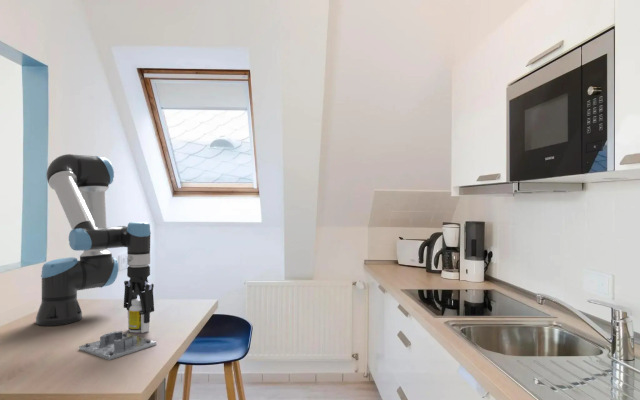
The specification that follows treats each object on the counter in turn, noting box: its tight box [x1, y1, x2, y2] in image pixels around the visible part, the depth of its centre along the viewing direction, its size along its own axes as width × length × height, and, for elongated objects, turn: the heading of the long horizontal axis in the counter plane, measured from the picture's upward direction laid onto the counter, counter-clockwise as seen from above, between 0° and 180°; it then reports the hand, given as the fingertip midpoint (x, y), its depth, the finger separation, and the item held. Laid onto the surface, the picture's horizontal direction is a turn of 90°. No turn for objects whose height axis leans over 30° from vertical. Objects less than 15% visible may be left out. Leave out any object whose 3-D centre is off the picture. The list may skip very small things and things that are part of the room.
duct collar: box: [78, 330, 157, 361], centre depth 137 cm, size 16×16×4 cm
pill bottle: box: [128, 297, 143, 334], centre depth 154 cm, size 6×6×11 cm
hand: (138, 329), depth 154 cm, fingers open, 7 cm apart
